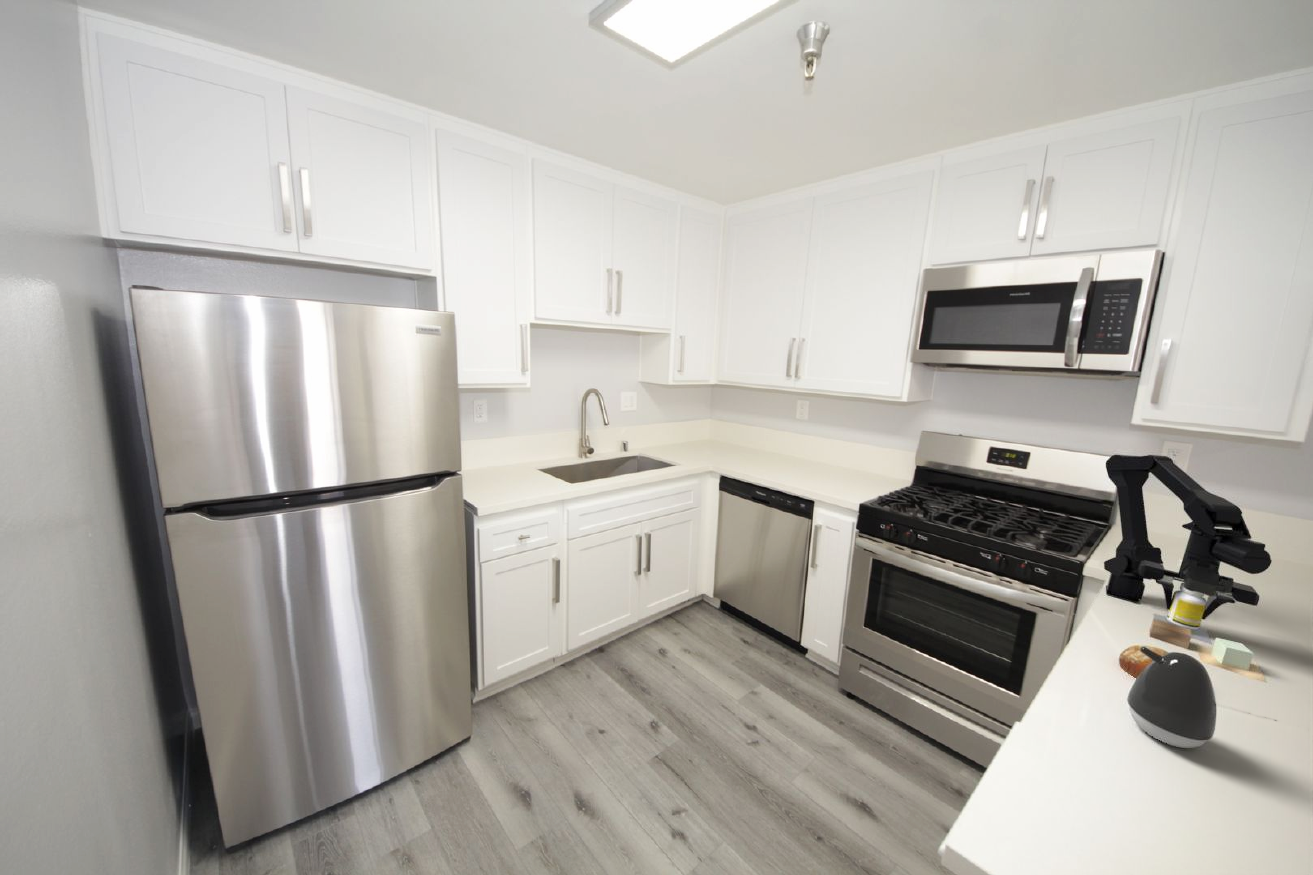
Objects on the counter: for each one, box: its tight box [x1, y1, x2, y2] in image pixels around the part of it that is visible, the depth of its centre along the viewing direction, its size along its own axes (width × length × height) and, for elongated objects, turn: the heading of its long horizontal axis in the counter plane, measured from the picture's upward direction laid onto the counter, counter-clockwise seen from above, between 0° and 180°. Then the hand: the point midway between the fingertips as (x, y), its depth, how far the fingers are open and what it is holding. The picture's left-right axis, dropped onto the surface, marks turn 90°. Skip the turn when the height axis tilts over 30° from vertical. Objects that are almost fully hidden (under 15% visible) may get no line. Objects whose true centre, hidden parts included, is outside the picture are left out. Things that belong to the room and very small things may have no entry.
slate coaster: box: [1152, 613, 1213, 645], centre depth 116 cm, size 9×9×1 cm
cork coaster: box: [1194, 643, 1268, 683], centre depth 104 cm, size 9×9×1 cm
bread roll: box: [1118, 644, 1170, 679], centre depth 97 cm, size 10×10×8 cm
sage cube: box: [1211, 637, 1254, 670], centre depth 103 cm, size 4×4×4 cm
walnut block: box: [1149, 617, 1192, 650], centre depth 111 cm, size 6×4×4 cm, turn 44°
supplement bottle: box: [1166, 582, 1207, 629], centre depth 115 cm, size 5×5×10 cm
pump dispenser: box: [1126, 647, 1218, 749], centre depth 81 cm, size 10×10×15 cm
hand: (1184, 613), depth 116 cm, fingers closed on supplement bottle, 5 cm apart
